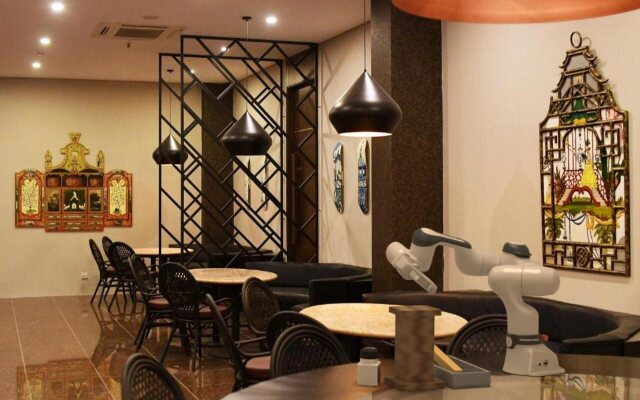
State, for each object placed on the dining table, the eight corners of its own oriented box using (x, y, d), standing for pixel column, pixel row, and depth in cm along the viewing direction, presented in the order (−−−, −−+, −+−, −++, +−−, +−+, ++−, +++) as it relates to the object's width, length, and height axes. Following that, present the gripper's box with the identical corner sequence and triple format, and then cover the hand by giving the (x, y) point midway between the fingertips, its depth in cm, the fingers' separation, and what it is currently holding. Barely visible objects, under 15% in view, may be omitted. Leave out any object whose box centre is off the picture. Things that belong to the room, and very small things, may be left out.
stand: (426, 379, 283) (427, 304, 283) (444, 388, 269) (445, 310, 269) (384, 381, 278) (384, 306, 278) (400, 391, 264) (401, 311, 264)
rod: (433, 351, 303) (433, 344, 302) (461, 378, 280) (462, 370, 280) (425, 351, 302) (426, 344, 301) (453, 378, 279) (454, 370, 279)
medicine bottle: (377, 386, 271) (378, 350, 271) (356, 385, 272) (357, 349, 272) (380, 381, 278) (381, 346, 278) (360, 380, 279) (360, 345, 279)
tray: (449, 368, 301) (450, 355, 301) (490, 386, 272) (490, 371, 272) (415, 370, 296) (415, 357, 296) (452, 389, 268) (453, 374, 268)
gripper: (420, 286, 320) (436, 304, 308) (388, 261, 309) (404, 279, 297) (430, 275, 319) (447, 292, 308) (399, 249, 308) (416, 266, 297)
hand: (426, 285), depth 302 cm, fingers open, 8 cm apart
